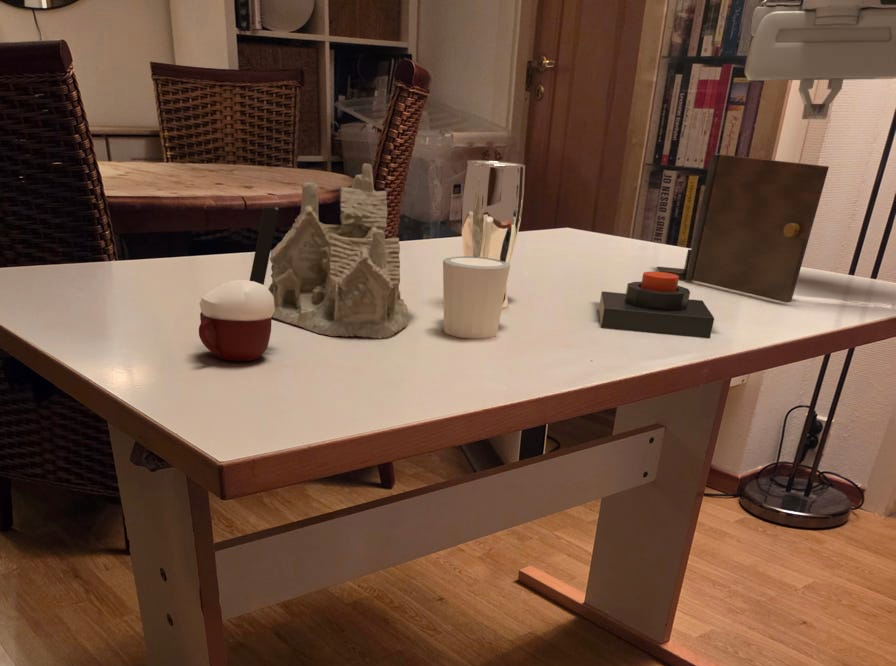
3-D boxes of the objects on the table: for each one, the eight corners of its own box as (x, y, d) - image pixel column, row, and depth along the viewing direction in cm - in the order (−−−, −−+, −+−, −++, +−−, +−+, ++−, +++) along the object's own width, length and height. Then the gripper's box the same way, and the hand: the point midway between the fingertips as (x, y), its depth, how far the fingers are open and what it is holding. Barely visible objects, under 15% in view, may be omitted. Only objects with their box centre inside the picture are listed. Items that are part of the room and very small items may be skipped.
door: (792, 302, 115) (830, 166, 107) (781, 303, 114) (819, 166, 105) (689, 277, 127) (716, 153, 118) (678, 278, 126) (704, 153, 117)
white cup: (428, 325, 93) (432, 255, 89) (485, 323, 95) (492, 255, 91) (453, 341, 87) (459, 267, 84) (513, 339, 90) (522, 267, 86)
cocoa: (208, 371, 73) (197, 216, 67) (179, 353, 78) (166, 205, 71) (306, 359, 78) (304, 214, 72) (273, 343, 83) (269, 204, 76)
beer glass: (497, 298, 108) (512, 161, 100) (520, 310, 102) (537, 166, 94) (445, 298, 106) (456, 158, 98) (466, 310, 100) (478, 164, 92)
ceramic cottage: (273, 296, 100) (272, 148, 91) (414, 313, 99) (427, 166, 90) (238, 336, 87) (233, 169, 78) (399, 356, 87) (412, 191, 78)
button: (673, 289, 100) (677, 273, 99) (677, 296, 96) (681, 279, 96) (639, 286, 100) (642, 270, 99) (641, 292, 97) (644, 276, 96)
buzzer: (698, 319, 104) (706, 284, 102) (709, 338, 96) (718, 300, 93) (598, 310, 105) (604, 275, 103) (600, 328, 97) (607, 290, 95)
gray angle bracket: (690, 276, 130) (697, 248, 128) (694, 281, 127) (700, 251, 125) (655, 273, 131) (661, 244, 129) (657, 278, 128) (663, 248, 125)
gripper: (759, -8, 110) (739, 118, 117) (929, -12, 107) (899, 118, 114) (750, 0, 116) (732, 120, 123) (913, -4, 113) (884, 119, 120)
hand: (813, 119), depth 118 cm, fingers closed
